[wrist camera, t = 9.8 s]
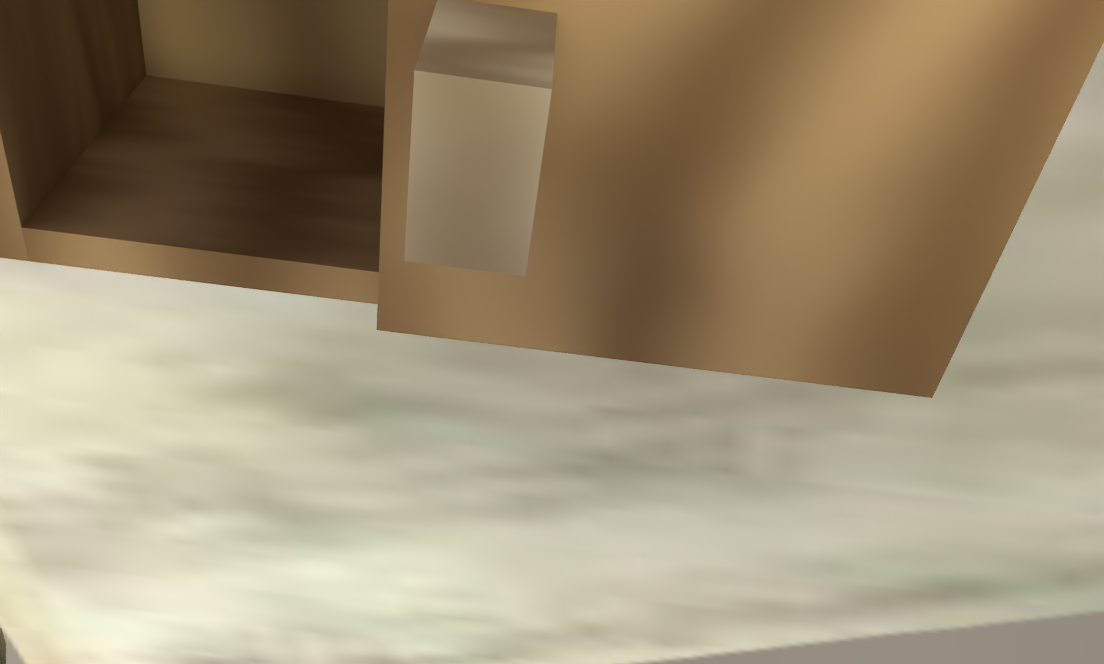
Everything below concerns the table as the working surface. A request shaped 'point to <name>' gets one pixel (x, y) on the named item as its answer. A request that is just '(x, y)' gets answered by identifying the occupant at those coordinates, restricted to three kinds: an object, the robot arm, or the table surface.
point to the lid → (717, 175)
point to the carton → (196, 140)
